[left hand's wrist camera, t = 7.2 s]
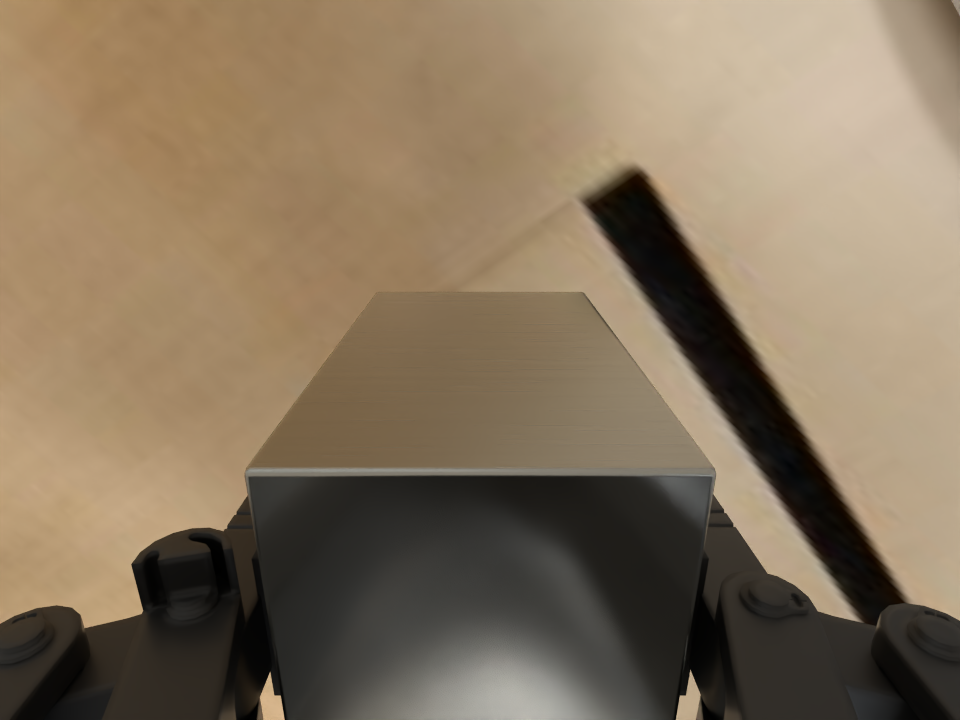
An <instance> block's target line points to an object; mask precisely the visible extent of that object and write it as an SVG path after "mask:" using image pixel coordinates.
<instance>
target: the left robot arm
mask: <svg viewBox="0 0 960 720" xmlns="http://www.w3.org/2000/svg"><path fill="white" fill-rule="evenodd" d="M131 565H132V569H133V573H134V577H135V580H136V584H137V588H138V592H139V596H140V600H141V604H142V607H143V613H142V614H141V615H137V616H134V617H131V618H127V619H123V620H119V621H114V622H110V623H106V624H101V625H97V626H93V627H89V628H84V625H83V622H82V619H81V615H80V614H79V613H77V612H76V611H75V610H74V609H73V608H70V607H63V606H50V607H43V608H36V609H34V610H31V611H28V612H25V613H22V614H19V615H17V616H14V617H12V618H10V619H9V620H7V621H5V622H3V623H1V624H0V720H263V714H262V707H261V702H260V695H261V693H262V690H263V688H264V685H265V683H266V680H267V678H268V675H269V673H270V672H271V677H272V683H273V689H274V695H281V693H280V687H279V681H278V675H277V669H276V663H275V657H274V651H273V645H272V638H271V632H270V626H269V620H268V614H267V608H266V602H265V596H264V590H263V584H262V578H261V572H260V566H259V559H258V553H257V547H256V541H255V535H254V529H253V523H252V517H251V511H250V505H249V499H248V496H247V497H246V499H245V500H244V502H243V503H242V505H241V506H240V508H239V509H238V511H237V515H234V517H233V518H232V520H231V521H230V523H229V524H228V527H227V529H225V530H224V531H220V530H216V529H212V528H192V529H188V530H184V531H180V532H176V533H173V534H170V535H168V536H166V537H164V538H162V539H159V540H157V541H155V542H154V543H152V544H151V545H150V546H148V547H147V548H146V549H144V550H143V551H141V552H140V553H139V555H138V556H137V557H136V559H135V560H134V561H133V563H132V564H131ZM690 669H691V672H692V674H693V677H694V679H695V682H696V684H697V686H698V689H699V691H700V694H701V696H700V702H699V707H698V712H697V718H696V720H960V621H959V620H957V619H955V618H953V617H952V616H950V615H948V614H946V613H943V612H940V611H938V610H934V609H931V608H929V607H926V606H920V605H913V604H907V603H903V604H896V605H889V606H888V607H887V608H886V609H885V610H883V611H882V612H881V614H880V617H879V620H878V623H877V626H873V625H869V624H865V623H860V622H856V621H852V620H847V619H843V618H839V617H834V616H831V615H828V614H824V613H821V612H818V611H817V609H816V608H815V606H814V605H813V603H812V602H811V600H810V599H809V597H808V596H807V595H805V594H804V593H803V592H802V591H801V590H799V589H798V588H797V587H796V586H795V585H793V584H791V583H789V582H787V581H785V580H783V579H781V578H779V577H777V576H774V575H770V574H767V572H766V571H765V569H764V568H763V567H762V565H761V564H760V562H759V561H758V559H757V558H756V556H755V555H754V553H753V552H752V550H751V549H750V547H749V546H748V545H747V543H746V542H745V540H744V539H743V537H742V536H741V534H740V533H739V531H738V530H737V528H736V527H733V523H732V521H731V520H730V518H729V517H728V515H727V514H726V513H724V509H723V508H722V506H721V505H720V504H719V502H718V501H717V499H716V498H715V496H714V495H713V497H712V503H711V509H710V515H709V521H708V527H707V533H706V539H705V545H704V551H703V557H702V563H701V570H700V576H699V582H698V588H697V594H696V600H695V606H694V612H693V618H692V624H691V630H690V636H689V642H688V648H687V654H686V660H685V666H684V673H683V679H682V685H681V691H680V695H686V691H687V686H688V680H689V674H690Z"/></svg>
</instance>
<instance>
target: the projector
mask: <svg viewBox="0 0 960 720" xmlns="http://www.w3.org/2000/svg"><path fill="white" fill-rule="evenodd" d="M951 1H952V2H953V4H954V6H955V8H956V10H957V12H958V14H959V16H960V0H951Z"/></svg>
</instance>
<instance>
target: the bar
mask: <svg viewBox="0 0 960 720" xmlns="http://www.w3.org/2000/svg"><path fill="white" fill-rule="evenodd" d="M715 479H716V471H715V468H714V467H713V466H712V464H711V463H710V462H709V460H708V459H707V458H706V456H705V455H704V453H703V452H702V451H701V449H700V448H699V447H698V445H697V444H696V443H695V441H694V440H693V439H692V437H691V436H690V435H689V433H688V432H687V431H686V429H685V428H684V427H683V425H682V424H681V423H680V421H679V420H678V419H677V417H676V416H675V415H674V413H673V412H672V411H671V409H670V408H669V406H668V405H667V404H666V402H665V401H664V400H663V398H662V397H661V396H660V394H659V393H658V392H657V390H656V389H655V388H654V386H653V385H652V384H651V382H650V381H649V380H648V378H647V377H646V376H645V374H644V373H643V372H642V370H641V369H640V368H639V366H638V365H637V364H636V362H635V361H634V359H633V358H632V357H631V355H630V354H629V353H628V351H627V350H626V349H625V347H624V346H623V345H622V343H621V342H620V341H619V339H618V338H617V337H616V335H615V334H614V333H613V331H612V330H611V329H610V327H609V326H608V325H607V323H606V322H605V321H604V319H603V318H602V317H601V315H600V314H599V313H598V311H597V310H596V308H595V307H594V306H593V304H592V303H591V302H590V300H589V299H588V298H587V296H586V295H585V294H584V293H583V292H378V293H376V294H375V295H374V297H373V298H372V300H371V301H370V302H369V304H368V305H367V306H366V308H365V309H364V310H363V312H362V313H361V314H360V316H359V317H358V318H357V320H356V321H355V322H354V324H353V325H352V326H351V328H350V329H349V330H348V332H347V333H346V335H345V336H344V337H343V339H342V340H341V341H340V343H339V344H338V345H337V347H336V348H335V349H334V351H333V352H332V353H331V355H330V356H329V357H328V359H327V360H326V361H325V363H324V364H323V365H322V367H321V368H320V370H319V371H318V372H317V374H316V375H315V376H314V378H313V379H312V380H311V382H310V383H309V384H308V386H307V387H306V388H305V390H304V391H303V392H302V394H301V395H300V396H299V398H298V399H297V401H296V402H295V403H294V405H293V406H292V407H291V409H290V410H289V411H288V413H287V414H286V415H285V417H284V418H283V419H282V421H281V422H280V423H279V425H278V426H277V427H276V429H275V430H274V431H273V433H272V434H271V436H270V437H269V438H268V440H267V441H266V442H265V444H264V445H263V446H262V448H261V449H260V450H259V452H258V453H257V454H256V456H255V457H254V458H253V460H252V461H251V462H250V464H249V465H248V467H247V468H246V470H245V480H246V486H247V493H248V499H249V505H250V511H251V517H252V523H253V529H254V535H255V541H256V547H257V553H258V559H259V566H260V572H261V578H262V584H263V590H264V596H265V602H266V608H267V614H268V620H269V626H270V632H271V638H272V645H273V651H274V657H275V663H276V669H277V675H278V681H279V687H280V693H281V699H282V705H283V711H284V718H285V720H676V715H677V709H678V703H679V697H680V691H681V685H682V679H683V673H684V666H685V660H686V654H687V648H688V642H689V636H690V630H691V624H692V618H693V612H694V606H695V600H696V594H697V588H698V582H699V576H700V570H701V563H702V557H703V551H704V545H705V539H706V533H707V527H708V521H709V515H710V509H711V503H712V497H713V491H714V485H715Z"/></svg>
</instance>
